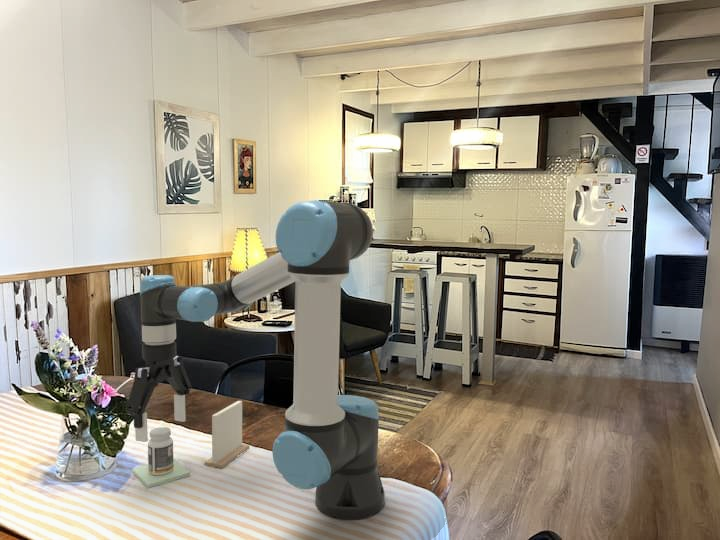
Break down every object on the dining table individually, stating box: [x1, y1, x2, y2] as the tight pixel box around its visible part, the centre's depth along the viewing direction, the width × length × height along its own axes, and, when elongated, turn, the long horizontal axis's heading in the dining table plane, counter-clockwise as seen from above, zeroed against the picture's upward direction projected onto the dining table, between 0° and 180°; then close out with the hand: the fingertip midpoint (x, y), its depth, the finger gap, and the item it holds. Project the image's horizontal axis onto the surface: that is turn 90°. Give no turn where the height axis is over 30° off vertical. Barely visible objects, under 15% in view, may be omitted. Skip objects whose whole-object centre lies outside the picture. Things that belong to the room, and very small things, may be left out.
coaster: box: [131, 457, 191, 489], centre depth 133 cm, size 10×10×1 cm
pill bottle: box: [147, 426, 174, 475], centre depth 132 cm, size 6×6×10 cm
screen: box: [203, 400, 250, 469], centre depth 142 cm, size 13×5×13 cm, turn 161°
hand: (161, 430), depth 131 cm, fingers open, 13 cm apart
